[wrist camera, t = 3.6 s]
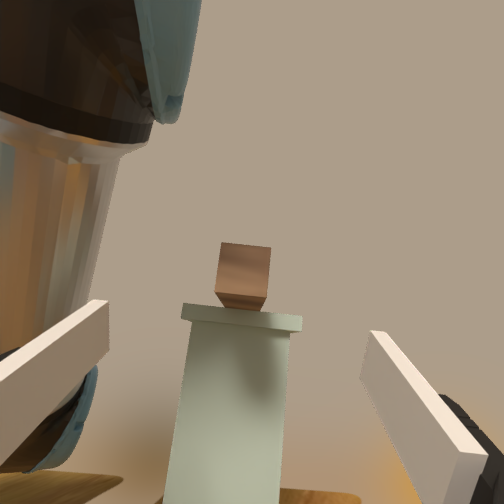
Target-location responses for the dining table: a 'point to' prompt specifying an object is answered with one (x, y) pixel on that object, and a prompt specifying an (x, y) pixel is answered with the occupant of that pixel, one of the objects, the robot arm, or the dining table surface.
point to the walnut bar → (243, 276)
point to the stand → (231, 407)
